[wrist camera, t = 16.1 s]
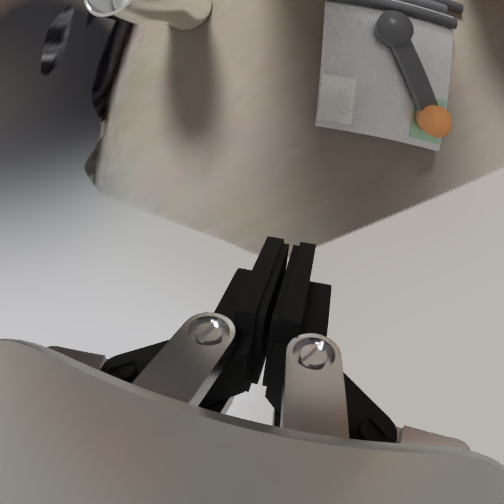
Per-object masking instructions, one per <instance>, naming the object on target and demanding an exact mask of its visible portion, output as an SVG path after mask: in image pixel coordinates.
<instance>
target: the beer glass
mask: <svg viewBox="0 0 504 504" xmlns="http://www.w3.org/2000/svg"><path fill="white" fill-rule="evenodd" d="M84 3H85V6H86V8H87V10H88V11H89V12H90V13H91V14H93V15H95V16H98V17H105V18H108V19H112V20H116V21H121V22H126V23H134V24H153V23H168V24H169V25H171V26H172V27H174V28H177V29H180V30H189V29H193V28H195V27H197V26H199V25H201V24H202V23H203V22H204V21H205V20H206V19H207V17H208V16H209V14H210V12H211V8H212V2H211V0H84Z"/></svg>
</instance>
